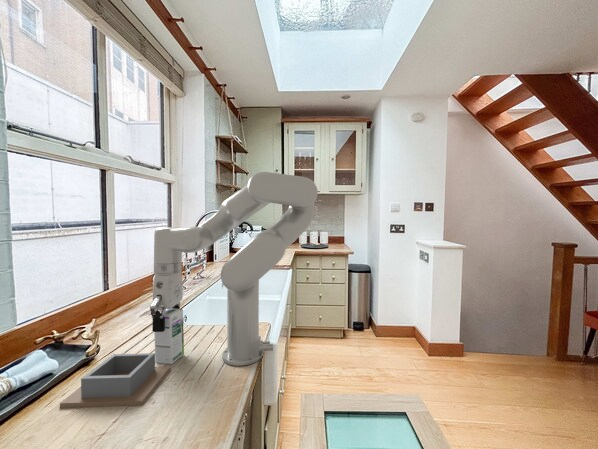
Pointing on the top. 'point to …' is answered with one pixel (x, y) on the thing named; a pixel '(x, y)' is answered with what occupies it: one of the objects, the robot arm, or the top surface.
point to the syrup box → (170, 338)
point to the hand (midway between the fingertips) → (166, 324)
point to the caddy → (118, 382)
